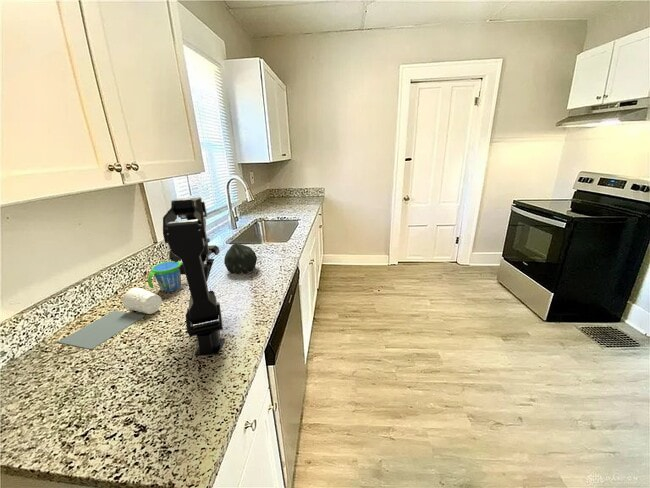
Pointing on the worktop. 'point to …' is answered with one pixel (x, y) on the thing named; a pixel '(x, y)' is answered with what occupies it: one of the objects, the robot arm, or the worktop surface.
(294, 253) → the worktop surface
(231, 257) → the squash
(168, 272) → the snack cup
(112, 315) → the mat
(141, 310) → the white cup
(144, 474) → the worktop surface
